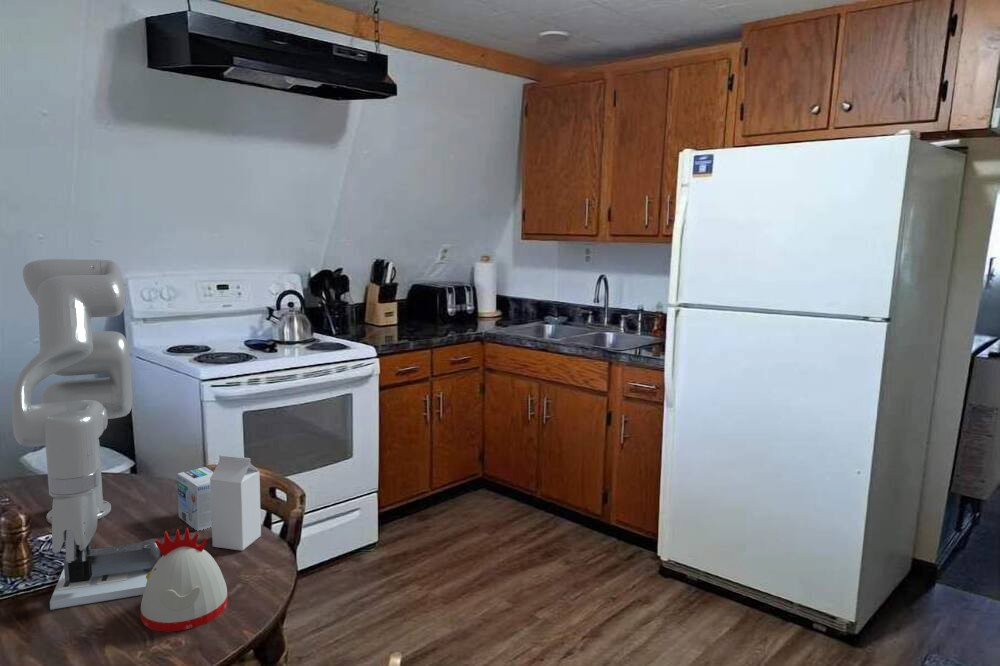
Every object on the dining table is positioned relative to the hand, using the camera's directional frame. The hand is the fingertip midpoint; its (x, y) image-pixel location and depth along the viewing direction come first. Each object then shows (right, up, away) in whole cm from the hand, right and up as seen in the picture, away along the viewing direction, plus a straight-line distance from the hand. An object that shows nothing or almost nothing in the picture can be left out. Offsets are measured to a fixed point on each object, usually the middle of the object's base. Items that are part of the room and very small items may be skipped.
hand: (80, 579), depth 121 cm
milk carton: (+19, -1, +24) cm, 30 cm away
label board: (0, -3, +8) cm, 8 cm away
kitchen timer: (+19, -5, -1) cm, 20 cm away
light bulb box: (+7, +1, +34) cm, 35 cm away
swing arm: (+2, -1, +6) cm, 7 cm away
